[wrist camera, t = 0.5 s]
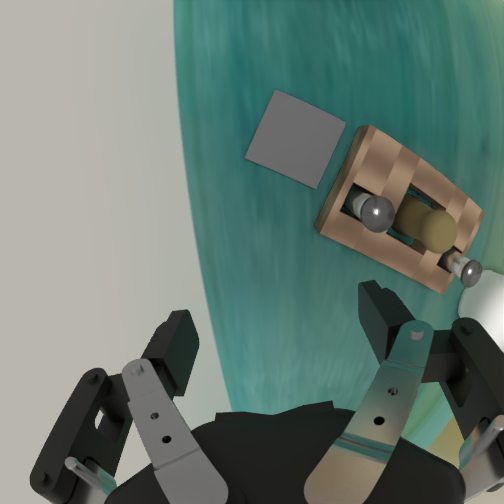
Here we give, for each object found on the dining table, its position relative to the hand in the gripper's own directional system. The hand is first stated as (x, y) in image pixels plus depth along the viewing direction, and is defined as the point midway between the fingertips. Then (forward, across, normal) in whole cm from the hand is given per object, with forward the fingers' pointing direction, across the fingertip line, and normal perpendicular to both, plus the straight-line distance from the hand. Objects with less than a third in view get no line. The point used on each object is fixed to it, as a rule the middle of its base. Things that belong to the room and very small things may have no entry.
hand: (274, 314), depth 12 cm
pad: (+25, -5, -8) cm, 27 cm away
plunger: (+23, -11, +1) cm, 26 cm away
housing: (+25, -20, +4) cm, 32 cm away
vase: (+26, -39, +23) cm, 52 cm away
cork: (+26, -20, +4) cm, 33 cm away
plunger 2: (+23, -26, +11) cm, 37 cm away
